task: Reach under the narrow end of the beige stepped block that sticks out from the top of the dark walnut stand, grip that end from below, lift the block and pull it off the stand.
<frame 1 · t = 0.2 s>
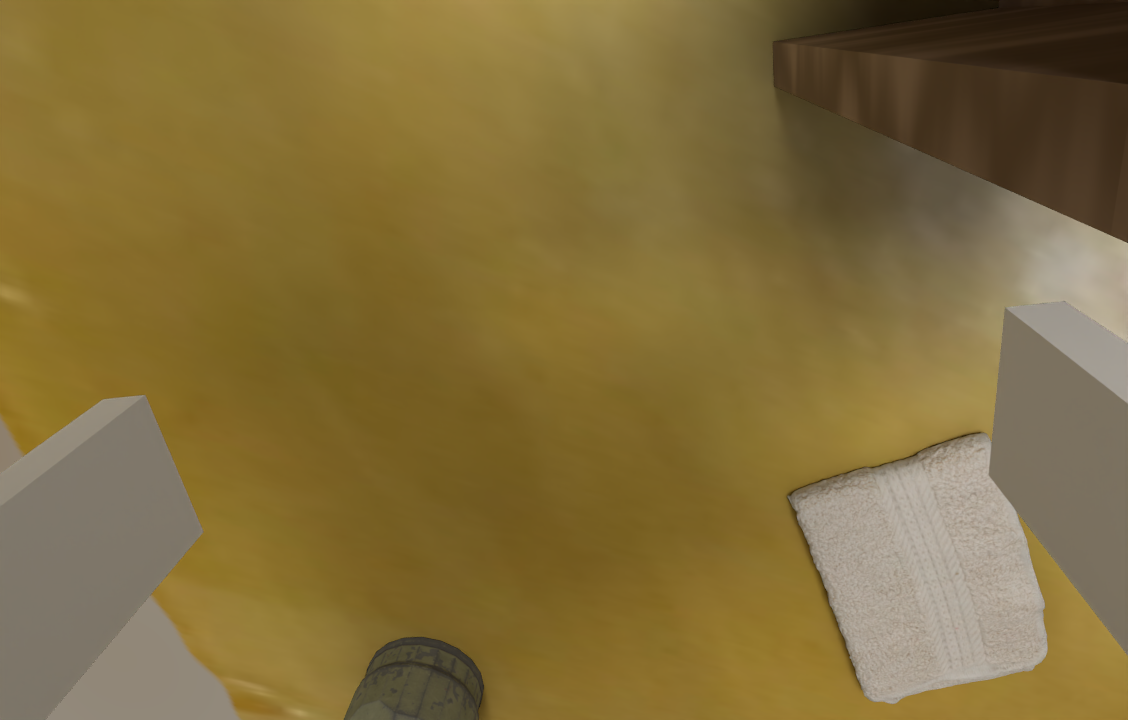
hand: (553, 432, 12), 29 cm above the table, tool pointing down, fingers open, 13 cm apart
washcloth: (913, 562, 47), on the table
thermos: (427, 679, 55), on the table
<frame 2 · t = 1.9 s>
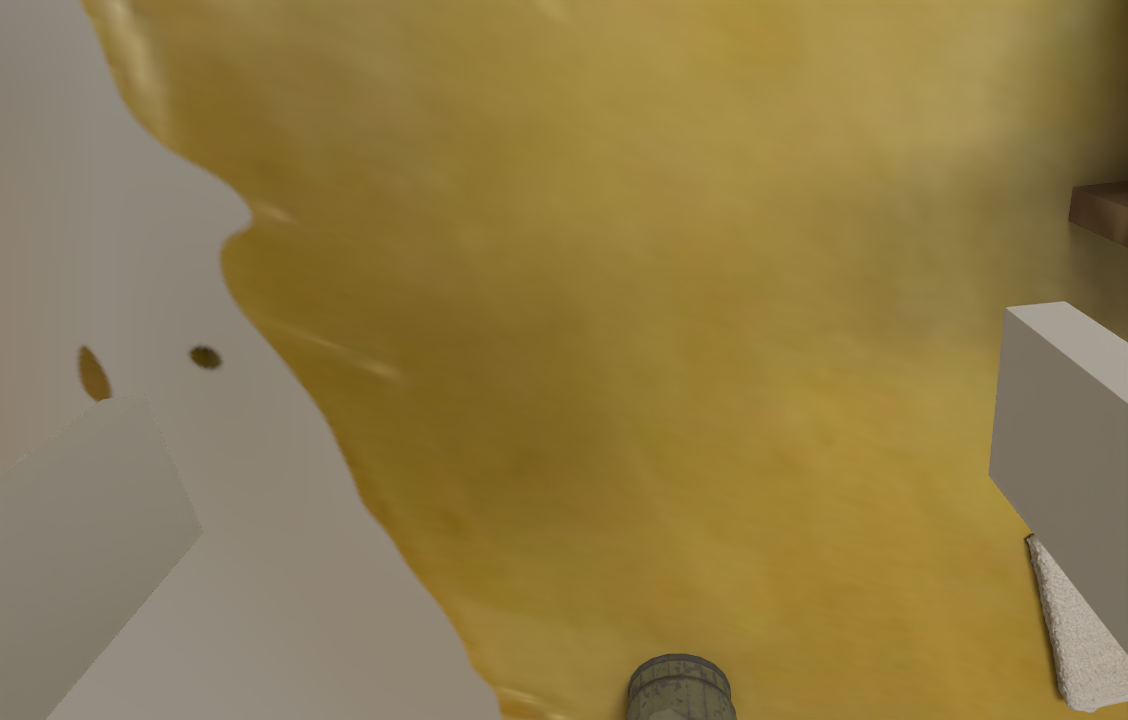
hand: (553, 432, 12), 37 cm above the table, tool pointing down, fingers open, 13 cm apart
washcloth: (1118, 595, 56), on the table
thermos: (679, 689, 64), on the table
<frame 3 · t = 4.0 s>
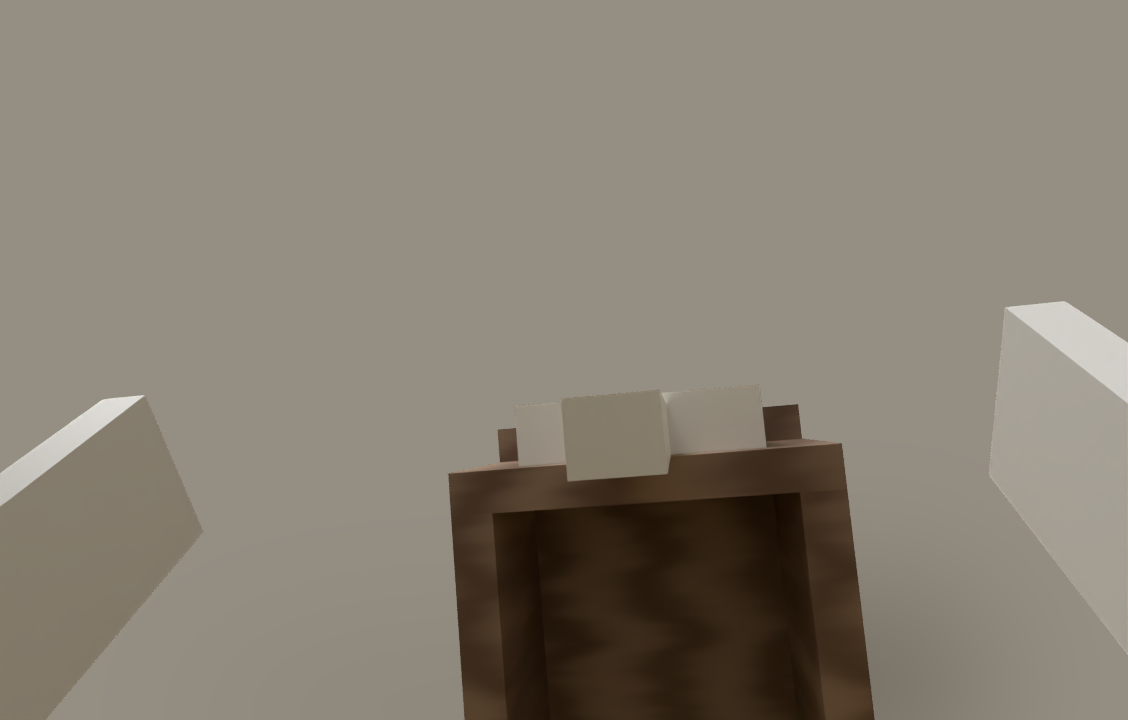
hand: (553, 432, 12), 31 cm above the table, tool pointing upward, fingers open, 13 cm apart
beige stepped block: (642, 454, 39), point 30 cm above the table, touching walnut stand
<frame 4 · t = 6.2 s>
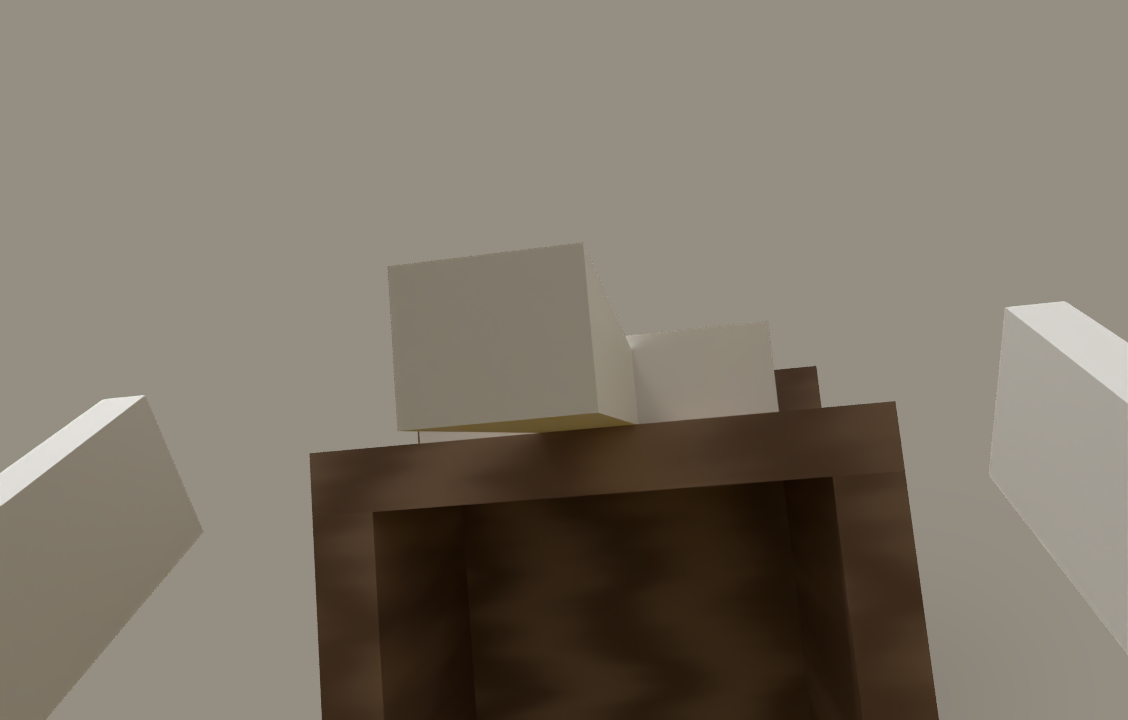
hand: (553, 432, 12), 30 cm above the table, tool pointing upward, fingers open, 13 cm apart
beige stepped block: (601, 429, 28), point 30 cm above the table, touching walnut stand
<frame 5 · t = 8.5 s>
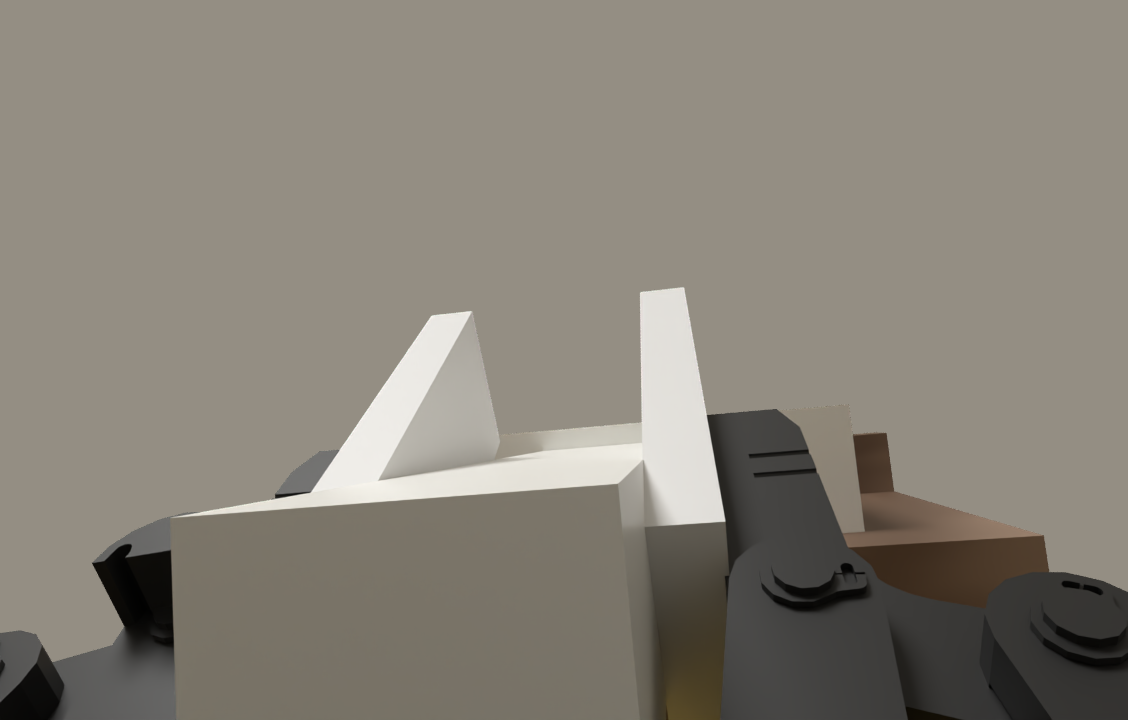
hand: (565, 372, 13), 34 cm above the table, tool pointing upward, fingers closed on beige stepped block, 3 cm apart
beige stepped block: (620, 531, 21), point 30 cm above the table, touching gripper, walnut stand
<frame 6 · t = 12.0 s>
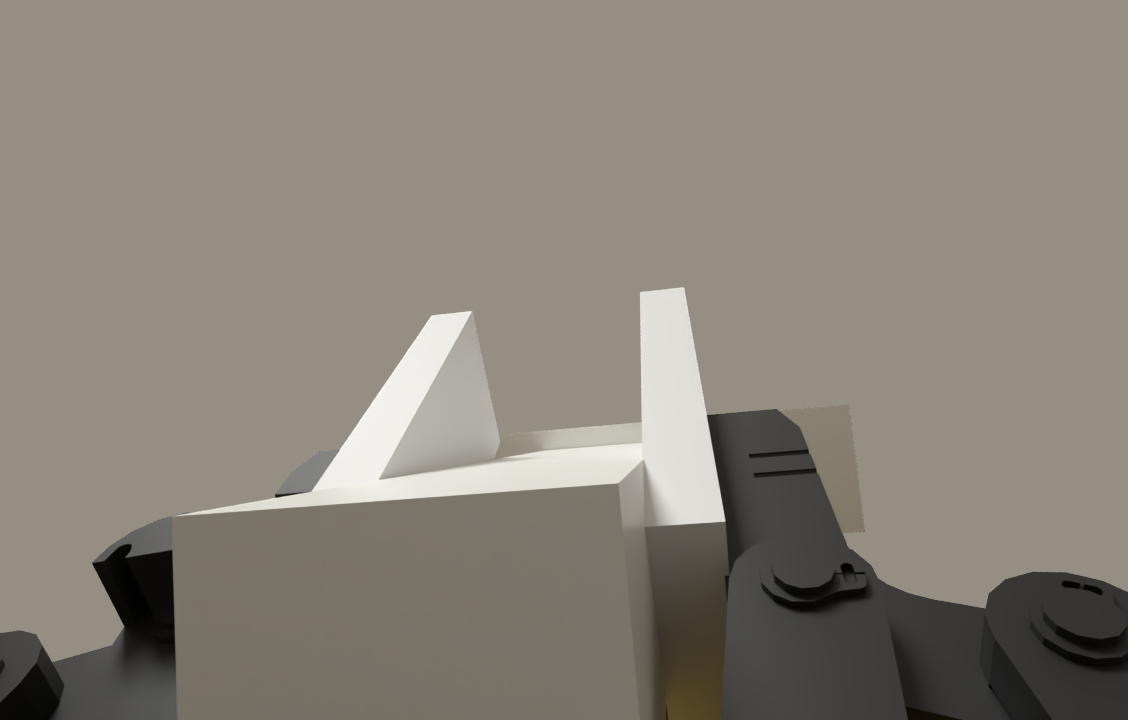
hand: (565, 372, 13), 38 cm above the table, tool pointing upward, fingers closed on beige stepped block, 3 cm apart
beige stepped block: (620, 530, 21), point 34 cm above the table, touching gripper
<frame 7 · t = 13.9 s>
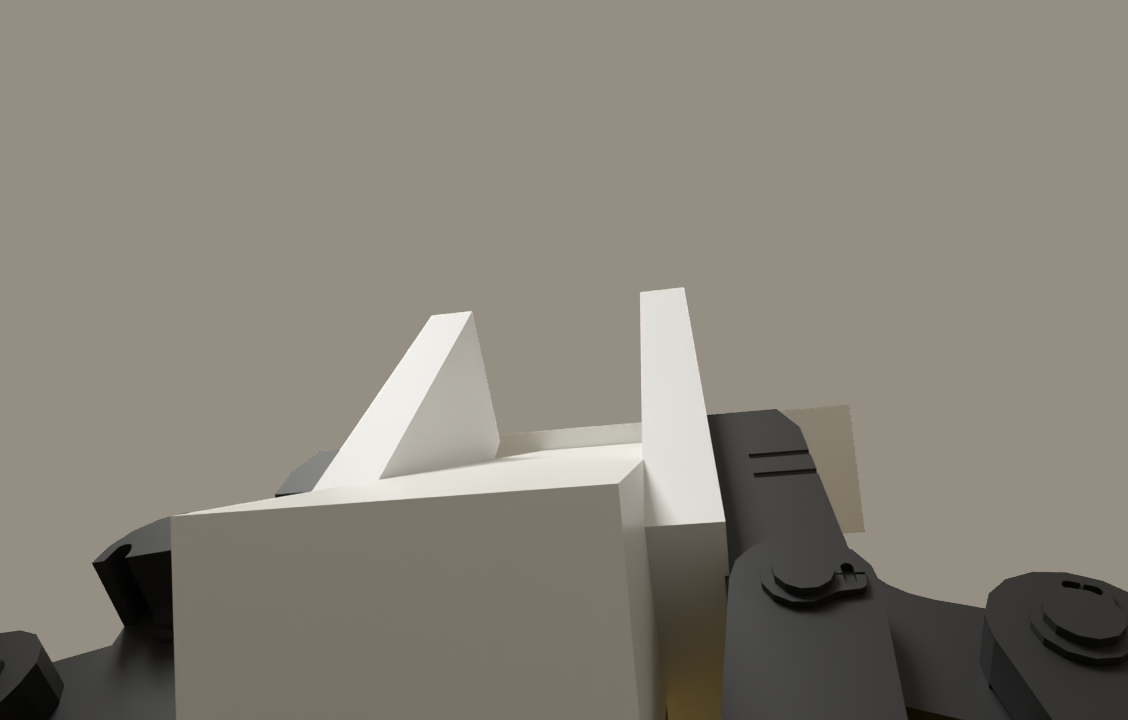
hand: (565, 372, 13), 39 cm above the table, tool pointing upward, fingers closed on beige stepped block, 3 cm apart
beige stepped block: (620, 530, 21), point 35 cm above the table, touching gripper
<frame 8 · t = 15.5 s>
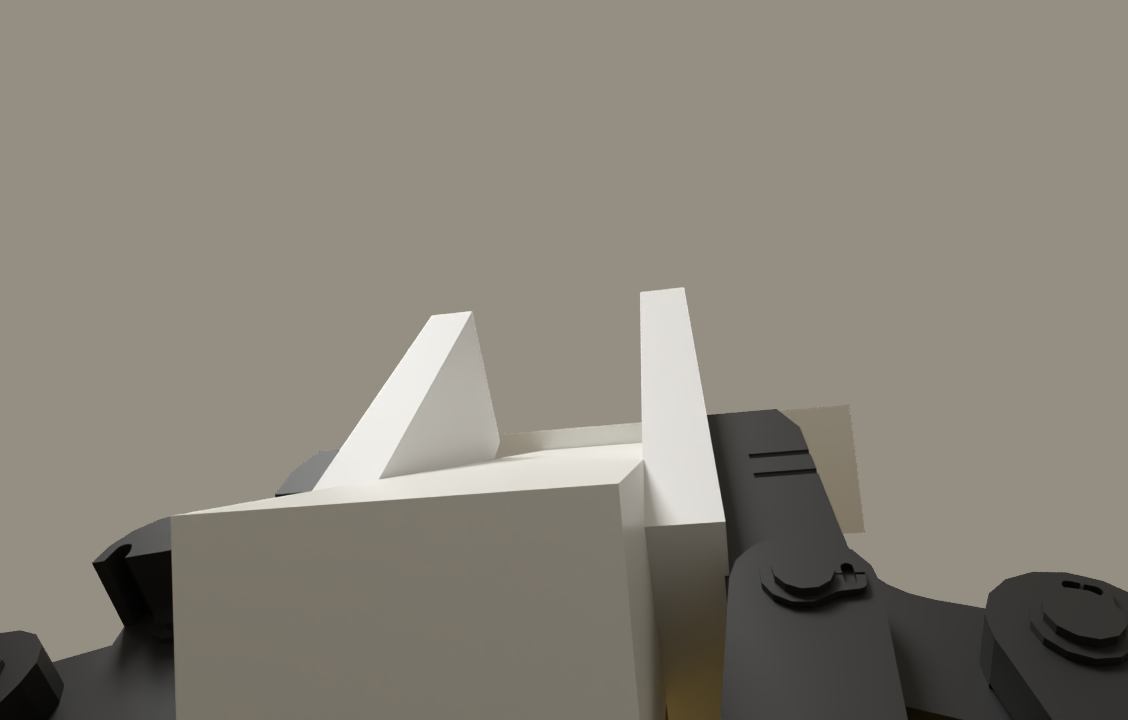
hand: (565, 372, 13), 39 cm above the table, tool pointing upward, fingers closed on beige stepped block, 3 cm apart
beige stepped block: (620, 530, 21), point 35 cm above the table, touching gripper
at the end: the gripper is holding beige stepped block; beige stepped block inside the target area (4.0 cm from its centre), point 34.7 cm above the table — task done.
